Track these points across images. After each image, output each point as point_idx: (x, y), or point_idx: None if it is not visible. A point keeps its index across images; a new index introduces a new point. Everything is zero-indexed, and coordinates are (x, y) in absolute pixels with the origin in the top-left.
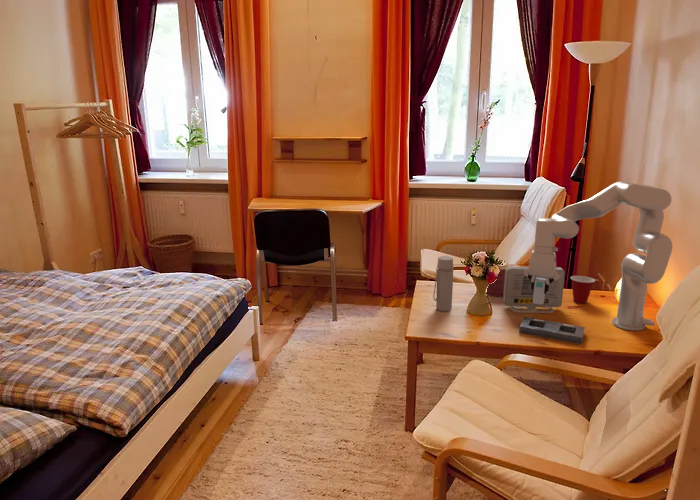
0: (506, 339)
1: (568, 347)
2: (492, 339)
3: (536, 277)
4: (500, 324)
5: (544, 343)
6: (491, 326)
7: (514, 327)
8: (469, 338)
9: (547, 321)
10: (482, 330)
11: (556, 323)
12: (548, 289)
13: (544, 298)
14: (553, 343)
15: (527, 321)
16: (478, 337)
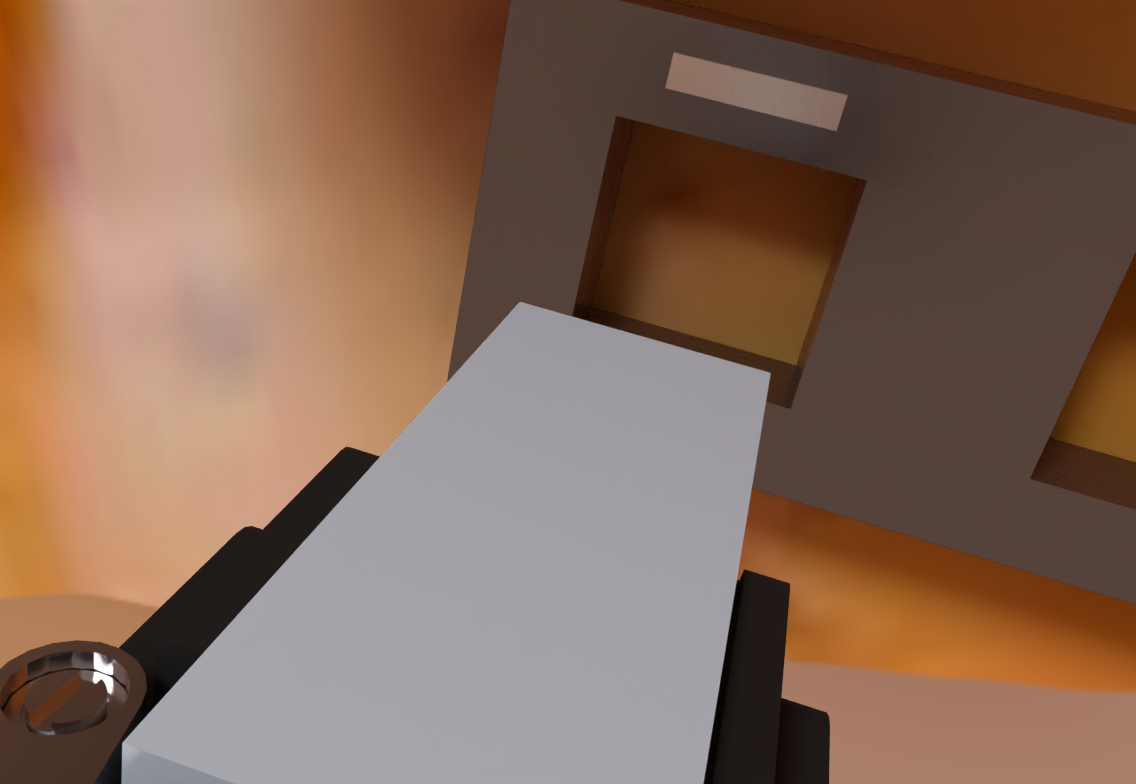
0: None
1: (1079, 689)
2: None
3: (126, 765)
4: (225, 116)
5: None
6: (133, 215)
7: (414, 184)
8: (9, 569)
9: (915, 111)
10: (68, 358)
11: (1075, 174)
12: (819, 756)
13: (762, 414)
14: (900, 602)
15: (559, 189)
16: (77, 538)
